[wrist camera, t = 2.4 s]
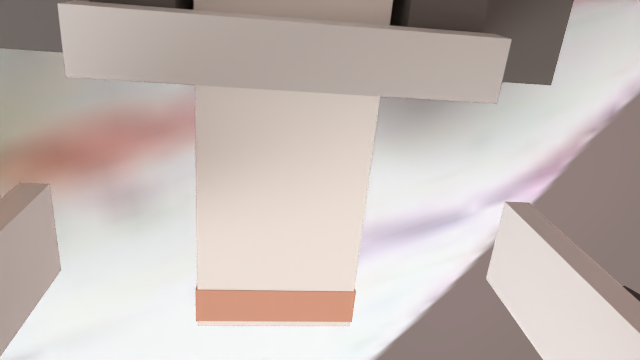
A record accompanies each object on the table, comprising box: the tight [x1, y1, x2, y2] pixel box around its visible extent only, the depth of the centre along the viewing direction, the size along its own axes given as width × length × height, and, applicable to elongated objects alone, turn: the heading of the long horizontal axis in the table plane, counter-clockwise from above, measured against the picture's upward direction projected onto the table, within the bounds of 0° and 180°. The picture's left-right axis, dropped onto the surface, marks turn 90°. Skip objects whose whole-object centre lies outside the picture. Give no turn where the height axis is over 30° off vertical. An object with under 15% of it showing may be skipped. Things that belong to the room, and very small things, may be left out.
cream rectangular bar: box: [194, 0, 393, 326], centre depth 15 cm, size 16×5×3 cm, turn 175°
